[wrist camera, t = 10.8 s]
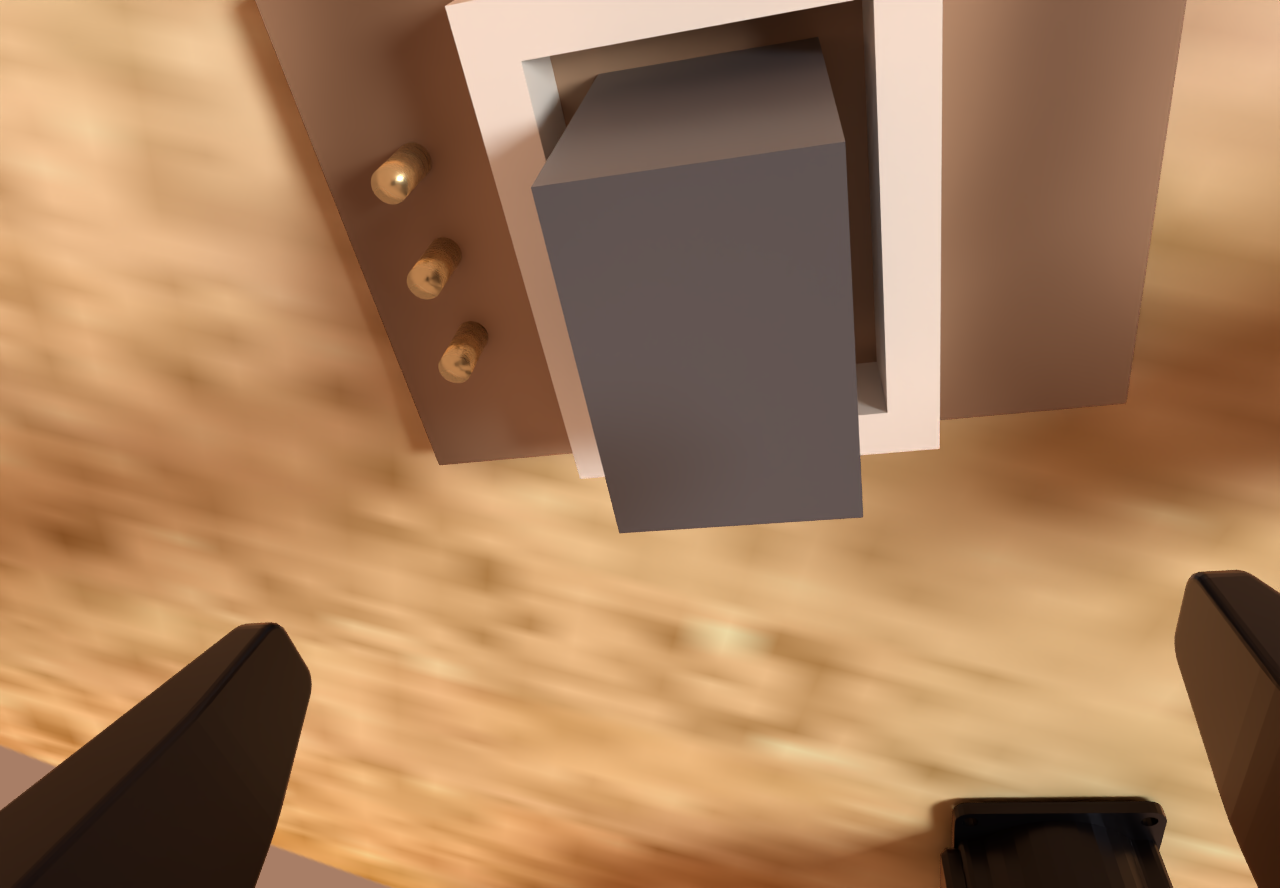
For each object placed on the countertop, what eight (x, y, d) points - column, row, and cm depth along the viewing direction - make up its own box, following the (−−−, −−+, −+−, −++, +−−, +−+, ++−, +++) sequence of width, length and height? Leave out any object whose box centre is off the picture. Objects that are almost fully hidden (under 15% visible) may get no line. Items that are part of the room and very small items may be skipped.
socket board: (1192, -220, 14) (1284, -225, 11) (1111, 379, 20) (1159, 458, 17) (274, -22, 17) (192, 7, 14) (450, 442, 23) (414, 516, 21)
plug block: (818, 36, 15) (845, 141, 11) (836, 335, 19) (863, 517, 14) (598, 74, 16) (530, 187, 11) (653, 354, 20) (619, 532, 15)
